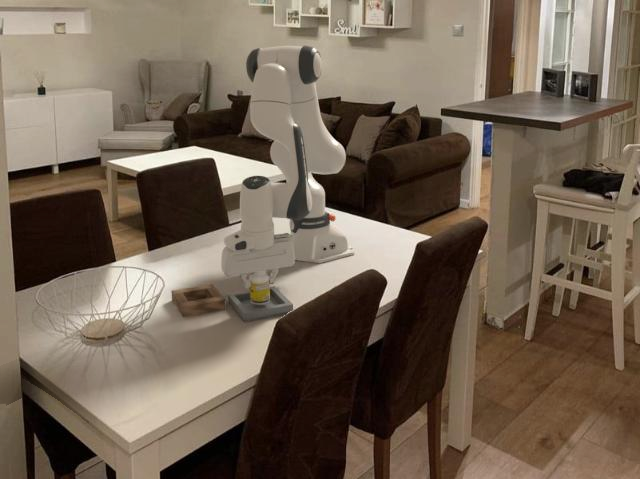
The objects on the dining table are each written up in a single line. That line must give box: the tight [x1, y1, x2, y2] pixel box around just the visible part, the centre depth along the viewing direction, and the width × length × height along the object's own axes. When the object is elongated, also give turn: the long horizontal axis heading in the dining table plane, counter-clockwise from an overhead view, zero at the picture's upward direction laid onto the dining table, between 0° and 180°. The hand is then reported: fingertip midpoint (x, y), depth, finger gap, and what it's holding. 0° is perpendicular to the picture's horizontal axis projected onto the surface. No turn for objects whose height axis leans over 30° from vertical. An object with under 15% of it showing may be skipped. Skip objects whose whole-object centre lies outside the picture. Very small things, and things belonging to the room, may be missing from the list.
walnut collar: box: [171, 283, 226, 318], centre depth 203 cm, size 12×12×3 cm
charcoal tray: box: [227, 285, 294, 323], centre depth 202 cm, size 14×14×2 cm
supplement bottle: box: [249, 270, 271, 305], centre depth 200 cm, size 5×5×10 cm
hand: (259, 285), depth 200 cm, fingers closed on supplement bottle, 5 cm apart
